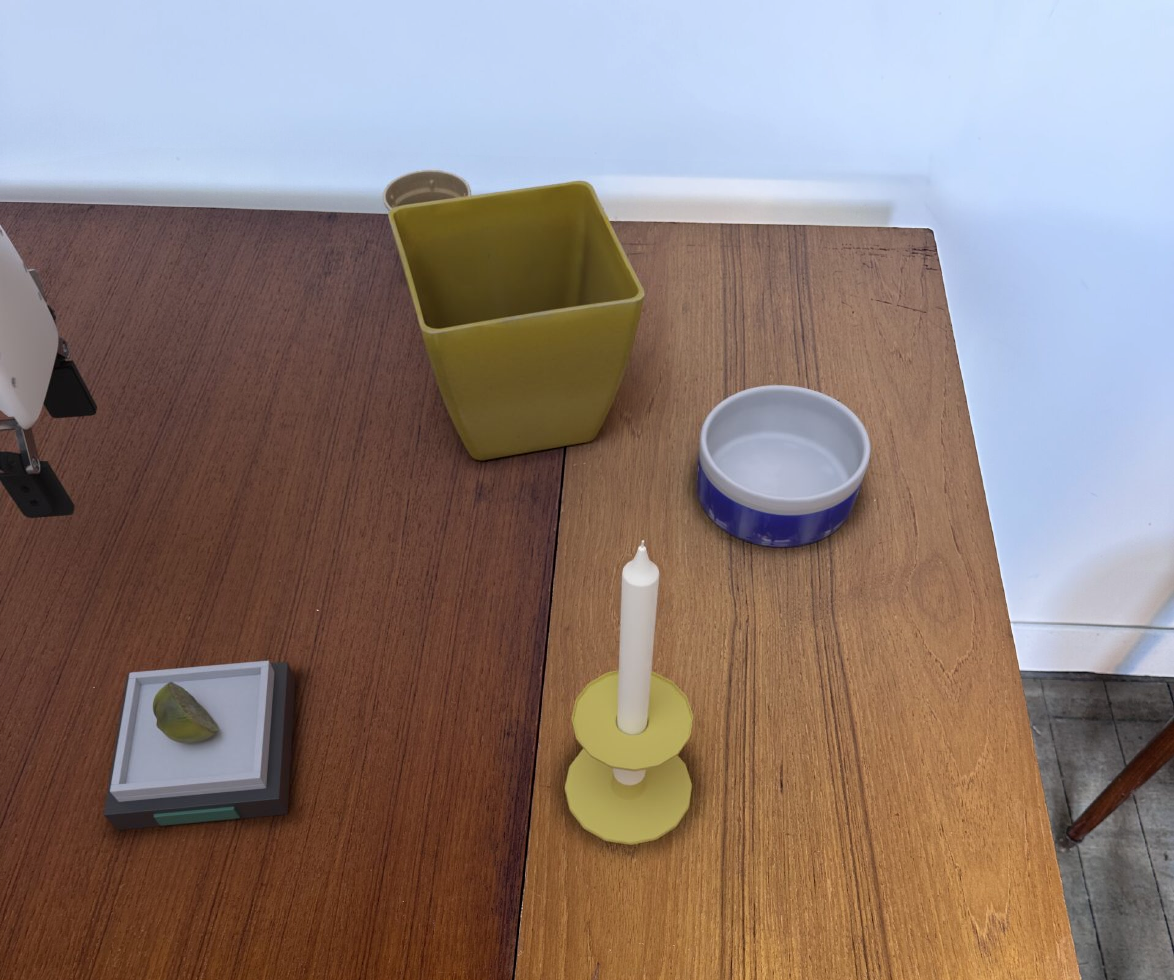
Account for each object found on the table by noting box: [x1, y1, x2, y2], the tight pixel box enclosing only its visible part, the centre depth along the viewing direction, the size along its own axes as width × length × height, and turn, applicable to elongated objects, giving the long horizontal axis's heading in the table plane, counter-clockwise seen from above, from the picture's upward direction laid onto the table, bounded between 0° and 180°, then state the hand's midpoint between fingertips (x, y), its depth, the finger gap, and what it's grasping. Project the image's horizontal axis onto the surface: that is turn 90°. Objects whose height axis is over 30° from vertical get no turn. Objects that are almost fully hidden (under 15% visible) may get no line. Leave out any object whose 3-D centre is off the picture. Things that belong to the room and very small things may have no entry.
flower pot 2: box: [387, 180, 646, 461], centre depth 91 cm, size 19×19×17 cm
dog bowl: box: [696, 384, 871, 548], centre depth 90 cm, size 15×15×6 cm
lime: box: [153, 682, 219, 743], centre depth 73 cm, size 4×5×5 cm
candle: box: [564, 539, 694, 846], centre depth 65 cm, size 10×10×27 cm
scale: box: [103, 660, 296, 831], centre depth 76 cm, size 13×13×4 cm
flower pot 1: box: [382, 169, 472, 212], centre depth 107 cm, size 9×9×9 cm
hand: (63, 462), depth 66 cm, fingers open, 9 cm apart
